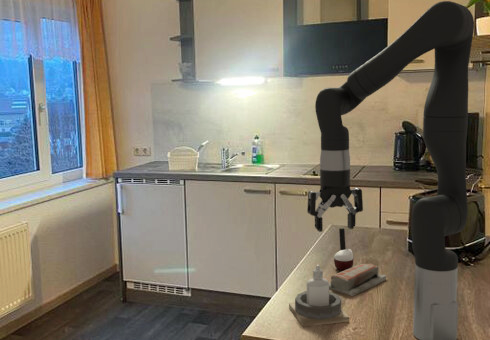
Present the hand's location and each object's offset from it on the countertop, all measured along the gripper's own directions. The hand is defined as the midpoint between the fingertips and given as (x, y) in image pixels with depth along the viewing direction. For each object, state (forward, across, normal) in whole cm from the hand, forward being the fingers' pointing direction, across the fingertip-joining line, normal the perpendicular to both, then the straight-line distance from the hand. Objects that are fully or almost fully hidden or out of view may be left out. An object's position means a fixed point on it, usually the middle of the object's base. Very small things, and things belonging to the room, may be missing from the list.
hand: (335, 229), depth 137 cm
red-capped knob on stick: (+22, +15, +29) cm, 39 cm away
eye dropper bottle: (+21, -5, -1) cm, 21 cm away
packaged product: (+22, +14, +16) cm, 31 cm away
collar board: (+22, -5, -1) cm, 22 cm away
